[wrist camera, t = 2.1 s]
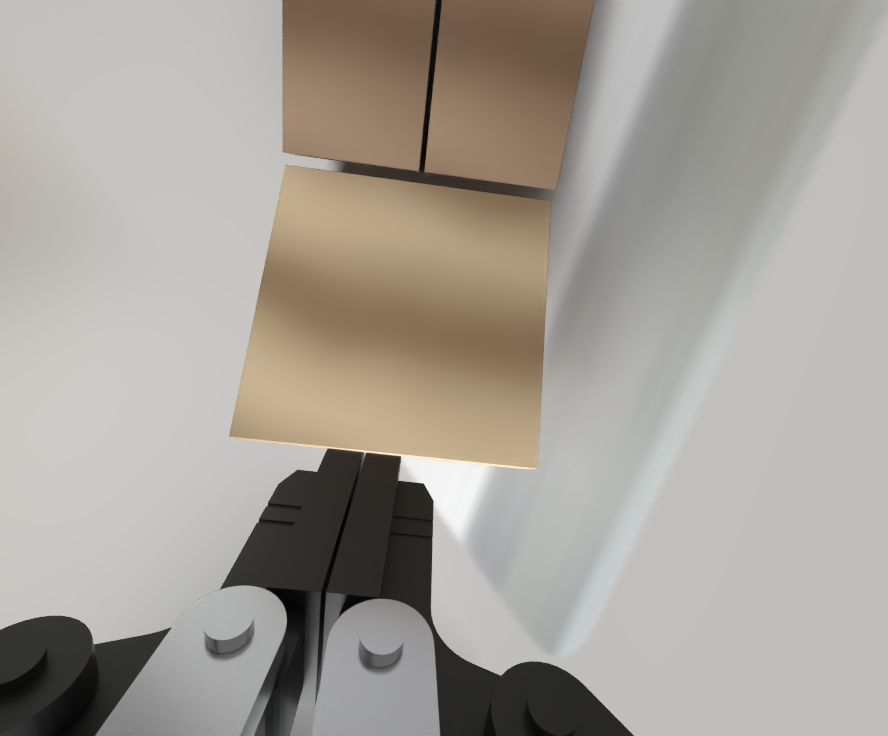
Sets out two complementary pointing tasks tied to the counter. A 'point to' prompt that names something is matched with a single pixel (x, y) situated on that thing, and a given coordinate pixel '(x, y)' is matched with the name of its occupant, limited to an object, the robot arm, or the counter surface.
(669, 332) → the counter surface
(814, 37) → the counter surface
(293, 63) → the brown flat square block
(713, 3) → the counter surface
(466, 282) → the oak plank
